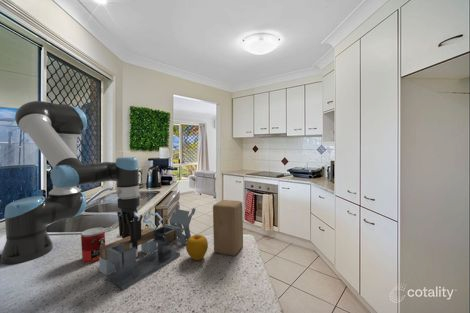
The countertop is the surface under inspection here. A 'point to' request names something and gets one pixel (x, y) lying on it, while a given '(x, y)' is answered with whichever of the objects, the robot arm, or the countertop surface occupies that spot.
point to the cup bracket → (137, 270)
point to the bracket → (180, 220)
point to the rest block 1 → (106, 266)
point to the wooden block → (228, 227)
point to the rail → (127, 242)
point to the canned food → (92, 244)
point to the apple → (197, 247)
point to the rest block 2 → (149, 246)
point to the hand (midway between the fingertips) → (130, 255)
